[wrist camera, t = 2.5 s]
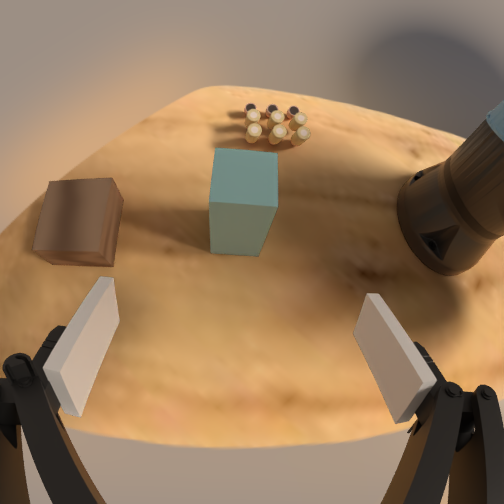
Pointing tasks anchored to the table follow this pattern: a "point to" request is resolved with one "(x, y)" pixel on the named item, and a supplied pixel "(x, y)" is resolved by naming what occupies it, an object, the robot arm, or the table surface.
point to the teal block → (242, 200)
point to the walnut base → (79, 222)
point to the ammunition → (276, 124)
